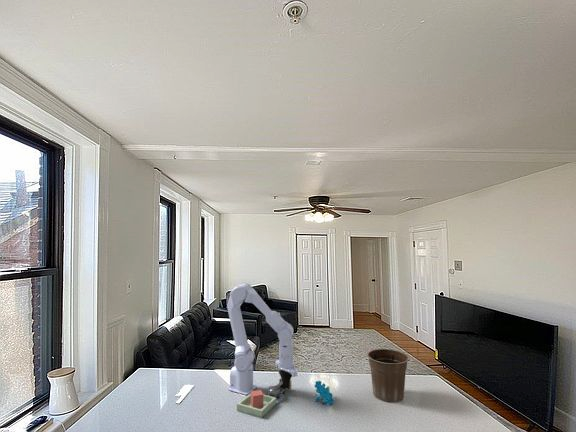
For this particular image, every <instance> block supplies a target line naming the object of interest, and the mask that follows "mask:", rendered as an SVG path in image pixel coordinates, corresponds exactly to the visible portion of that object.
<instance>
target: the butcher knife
mask: <svg viewBox="0 0 576 432" xmlns="http://www.w3.org/2000/svg"><path fill="white" fill-rule="evenodd" d="M193 388H195V385H194V384H185V385H183V387H182V388H181V389H180V390H179V391H180V392H179V391H178V392H179V393H178V392H177V393H178V394H177V393H176V395H175V396H177V398H179V399H178V400H177V401H175V405H181V403H182V402H183V401H184V399H185V398H186V397H187V396H188V394H189V393H190V392H191V391H192V390H193ZM181 401H182V402H181ZM180 402H181V403H180ZM176 403H177V404H176Z"/></svg>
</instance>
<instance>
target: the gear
mask: <svg viewBox="0 0 576 432" xmlns="http://www.w3.org/2000/svg"><path fill="white" fill-rule="evenodd" d="M314 388H315V393H318V396H317V397H315V398H314V401H315V402H318V401H319V400H320V399H322V398H323V400H322V402H323V403H324V404H326V405H327V406H333V405H334V401H335V399H334V398H333V393H332V392H330V386H328V385H327V386H326V384H325V383H324V382H323V383H322V381H321V380H317V381H315V384H314Z"/></svg>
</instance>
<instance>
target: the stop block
mask: <svg viewBox="0 0 576 432" xmlns="http://www.w3.org/2000/svg"><path fill="white" fill-rule="evenodd" d="M250 393H251V407H254V408H257V409H261V408H263V395H264V393H263V391H262V389H258V390H256V389H255V390H253V391H251V392H250Z"/></svg>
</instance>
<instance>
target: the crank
mask: <svg viewBox="0 0 576 432" xmlns="http://www.w3.org/2000/svg"><path fill="white" fill-rule="evenodd" d="M290 389H292V379H291V380H290V386H289V388H288V389H287V390H290ZM285 390H286V389H284V388H283V382H282V379H281V378H279V381H278V383H277V384H276V385H273V386H272V385H271V386H269V387H268V394H269V396H271V397H275V398H276V399H279V398H280V393H281V392H282V391H283V392H284V391H285ZM283 392H282V393H283ZM282 393H281V394H282Z"/></svg>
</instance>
